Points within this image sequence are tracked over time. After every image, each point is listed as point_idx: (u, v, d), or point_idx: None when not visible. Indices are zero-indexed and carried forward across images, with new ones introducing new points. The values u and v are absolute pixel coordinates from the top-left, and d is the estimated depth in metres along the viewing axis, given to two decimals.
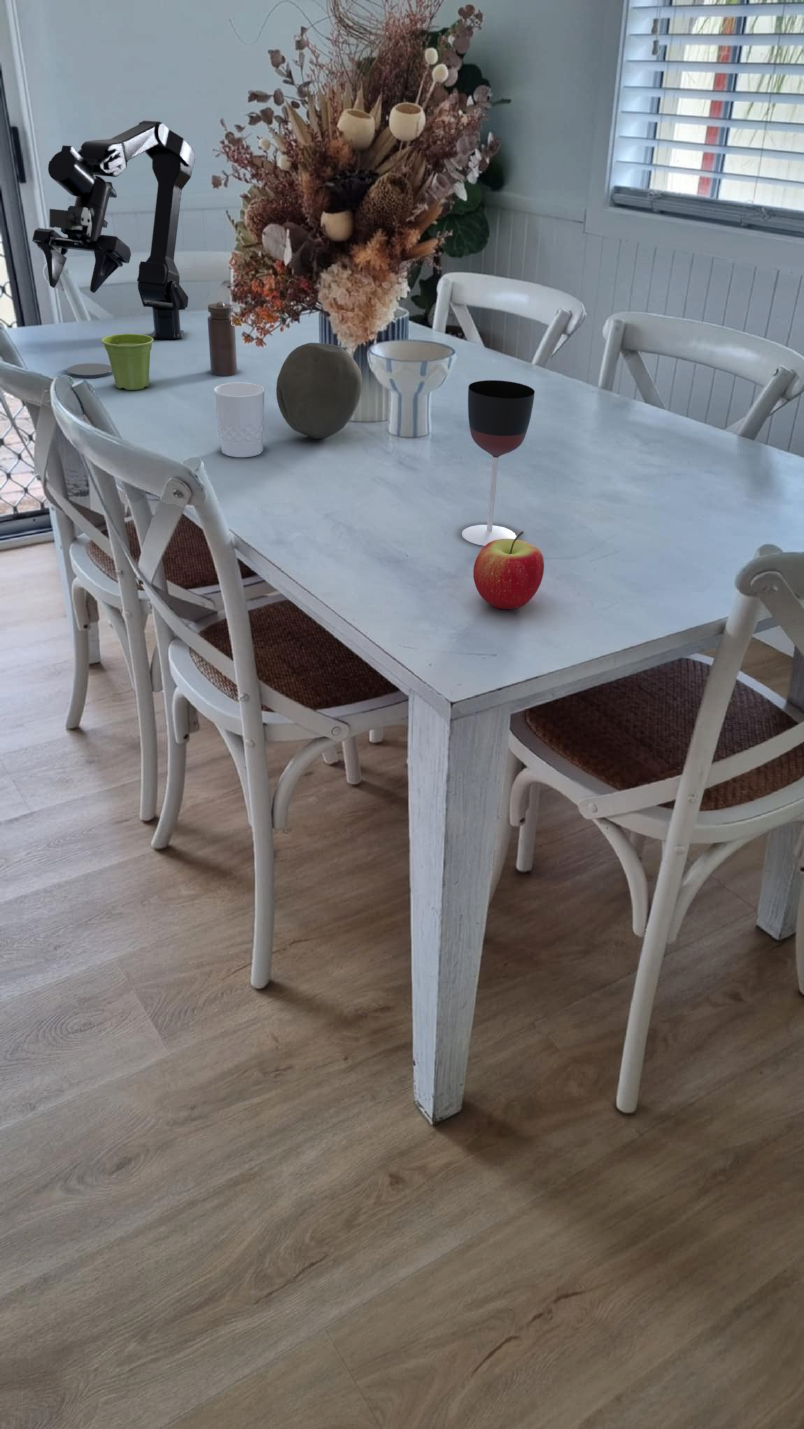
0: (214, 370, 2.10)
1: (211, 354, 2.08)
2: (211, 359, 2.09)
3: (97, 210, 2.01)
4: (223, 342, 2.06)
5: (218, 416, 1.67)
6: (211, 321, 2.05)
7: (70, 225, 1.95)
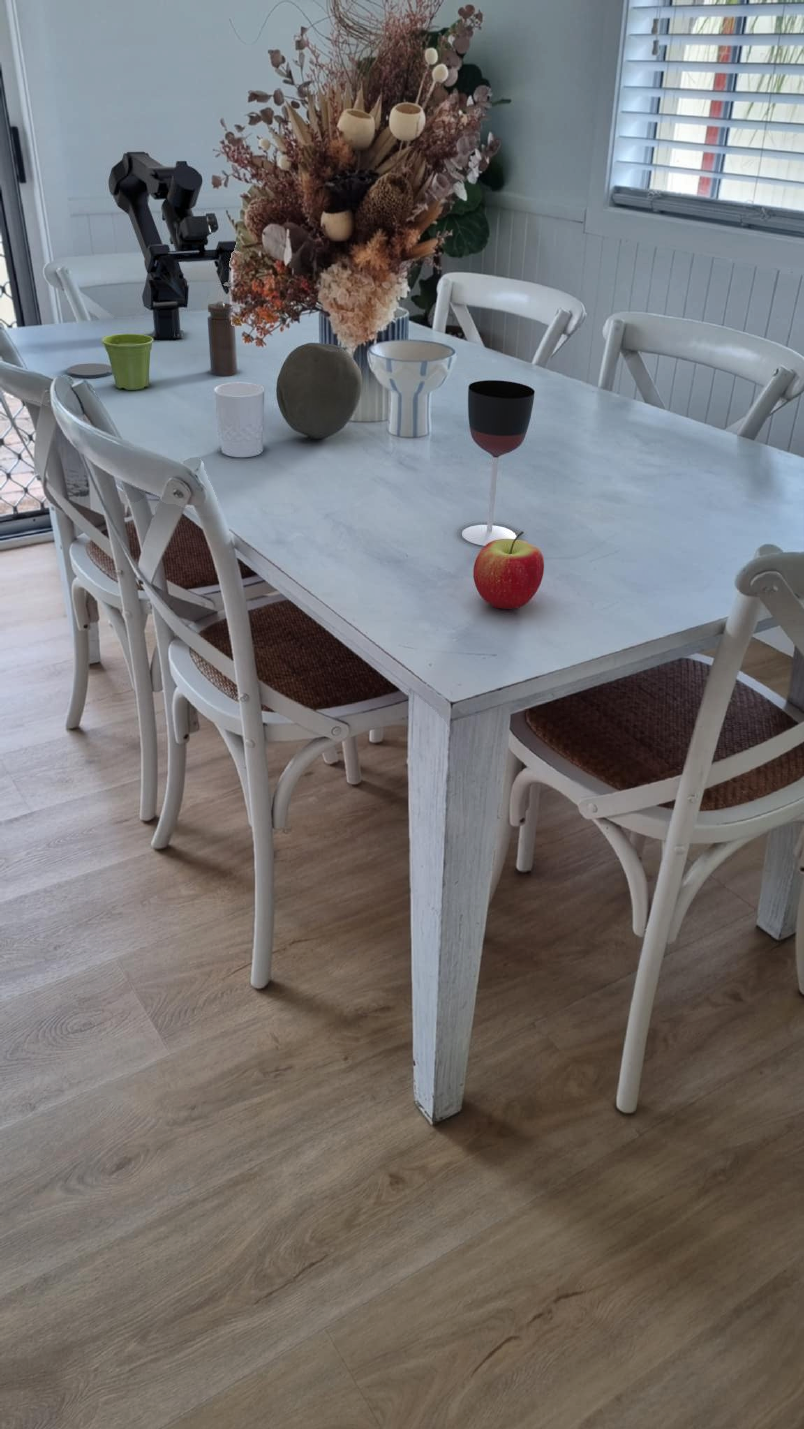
0: (214, 370, 2.10)
1: (211, 354, 2.08)
2: (211, 359, 2.09)
3: None
4: (223, 342, 2.06)
5: (218, 416, 1.67)
6: (211, 321, 2.05)
7: (210, 230, 2.06)
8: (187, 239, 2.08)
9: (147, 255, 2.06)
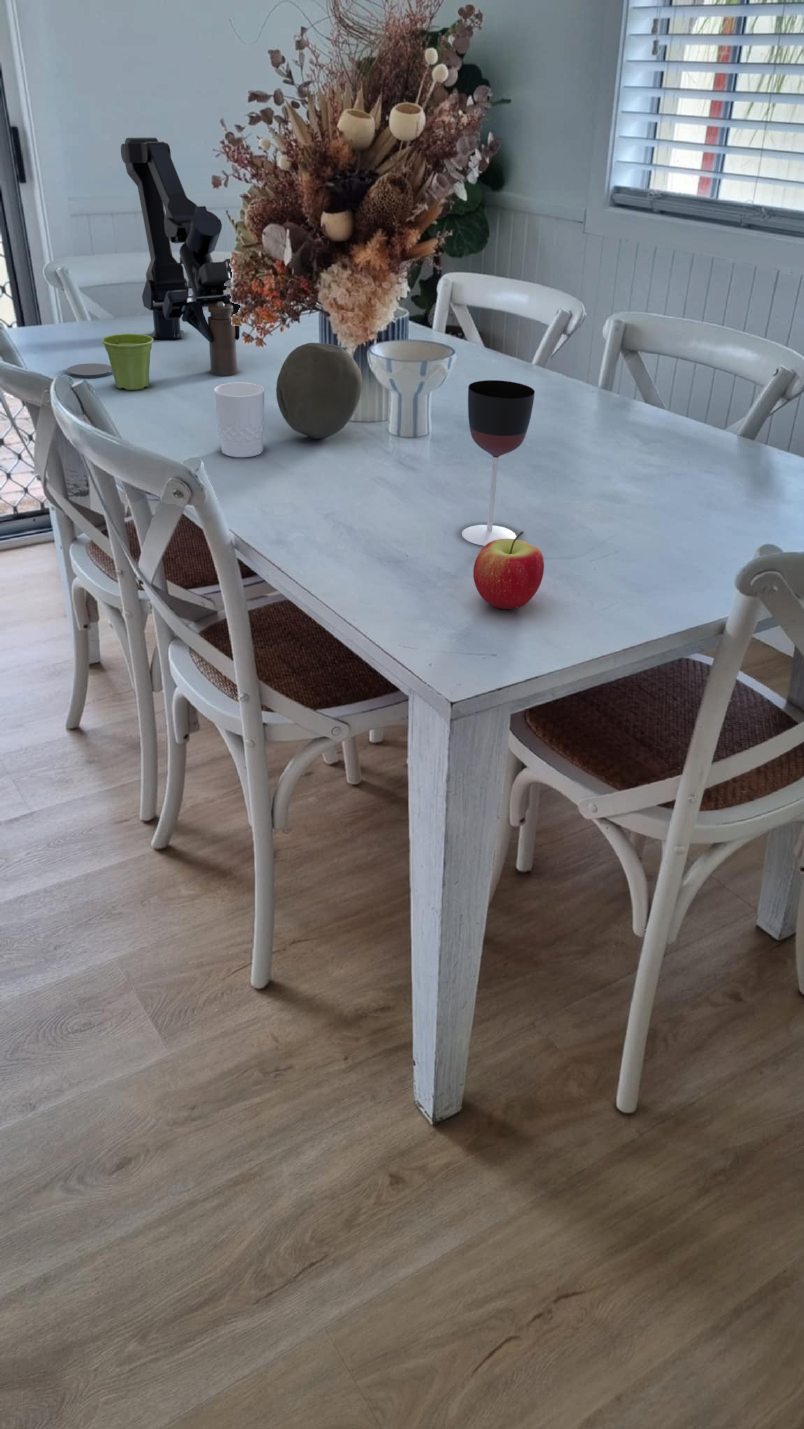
0: (214, 370, 2.10)
1: (211, 354, 2.08)
2: (211, 359, 2.09)
3: None
4: (223, 342, 2.06)
5: (218, 416, 1.67)
6: (211, 321, 2.05)
7: (230, 275, 2.03)
8: (206, 284, 2.05)
9: (166, 301, 2.04)
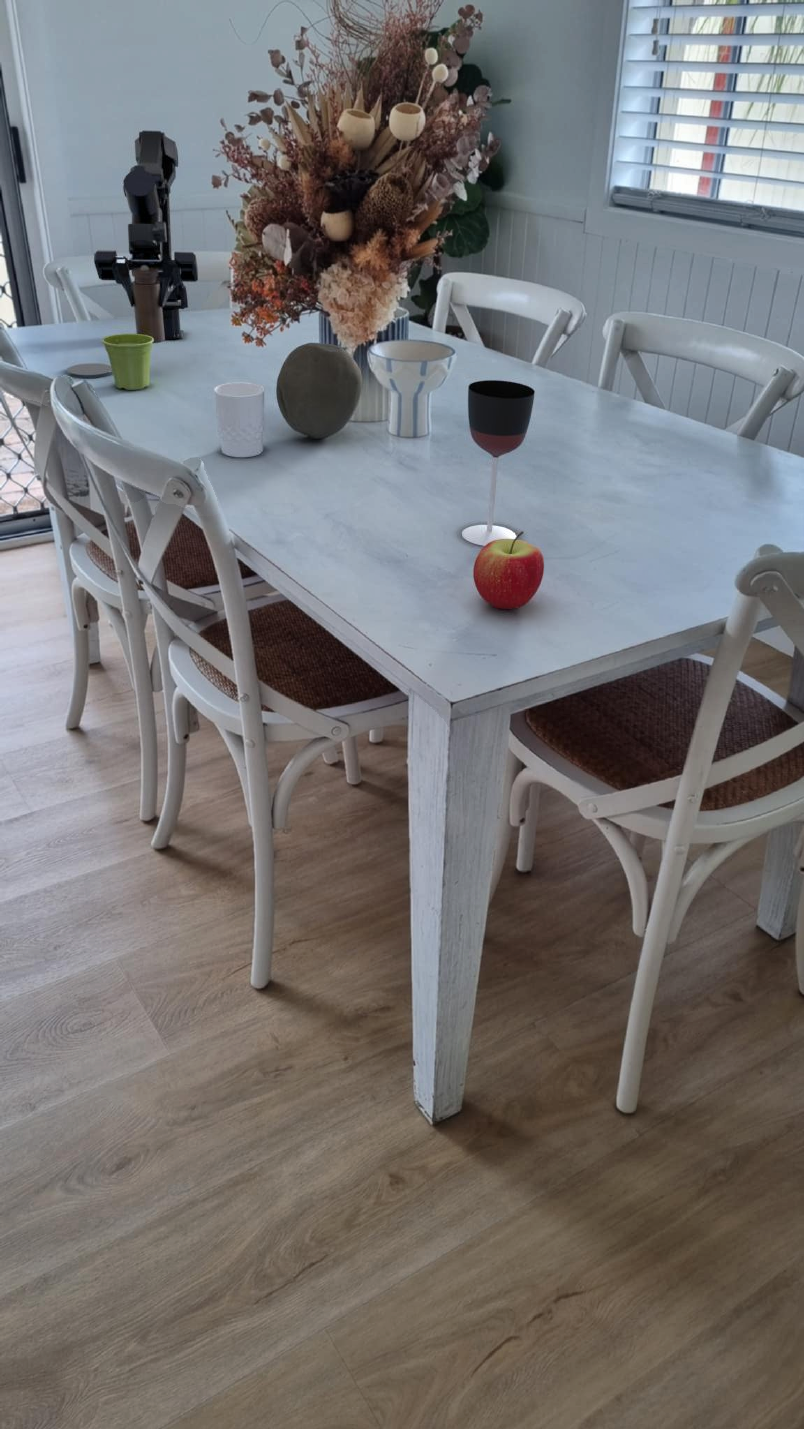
0: None
1: (135, 319, 2.02)
2: None
3: None
4: (142, 307, 1.99)
5: (218, 416, 1.67)
6: (132, 285, 1.98)
7: (154, 239, 1.95)
8: (137, 247, 1.99)
9: None
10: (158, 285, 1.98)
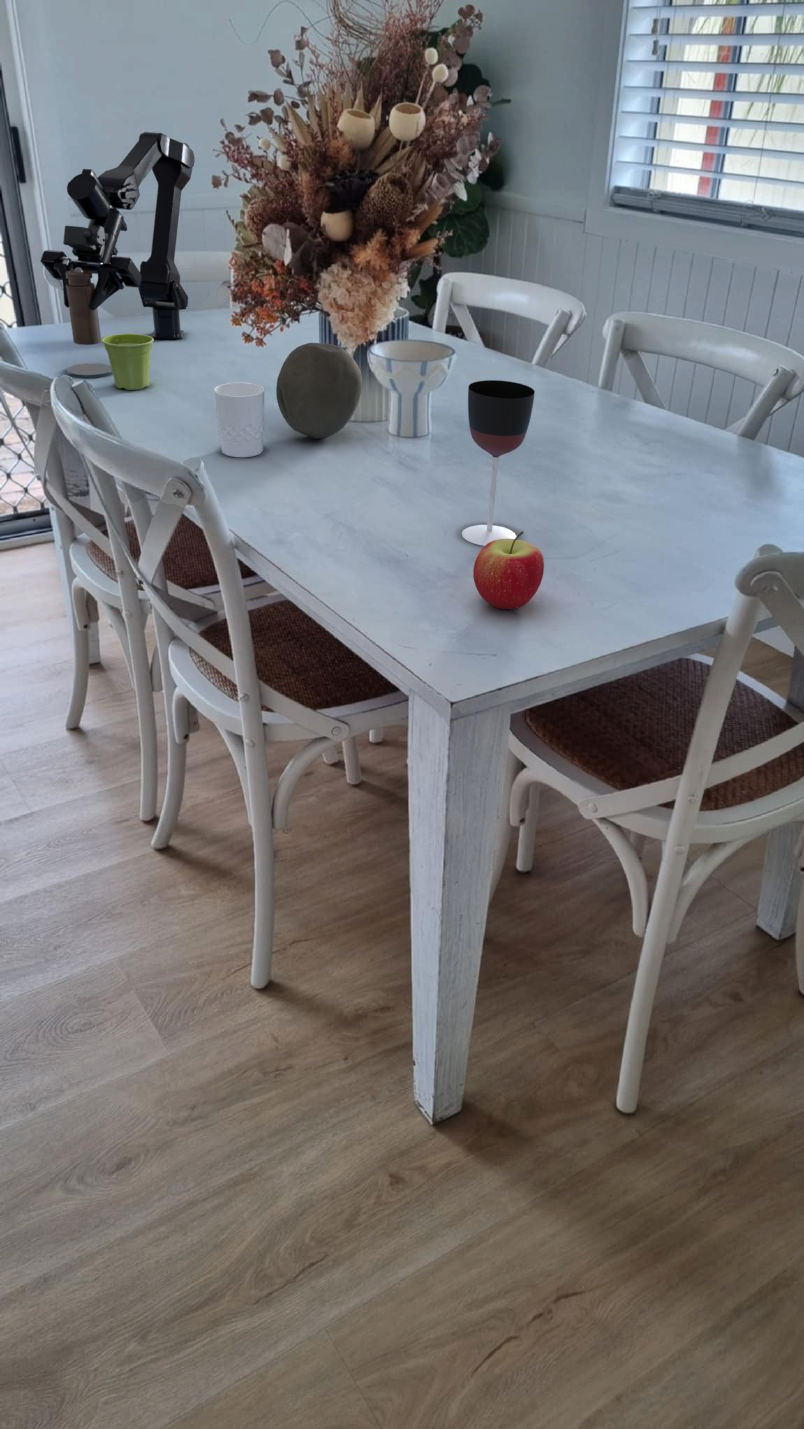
0: None
1: None
2: None
3: (110, 235, 2.02)
4: (72, 308, 2.00)
5: (218, 416, 1.67)
6: (66, 286, 2.00)
7: (85, 242, 1.96)
8: (79, 249, 2.00)
9: None
10: (89, 288, 1.99)
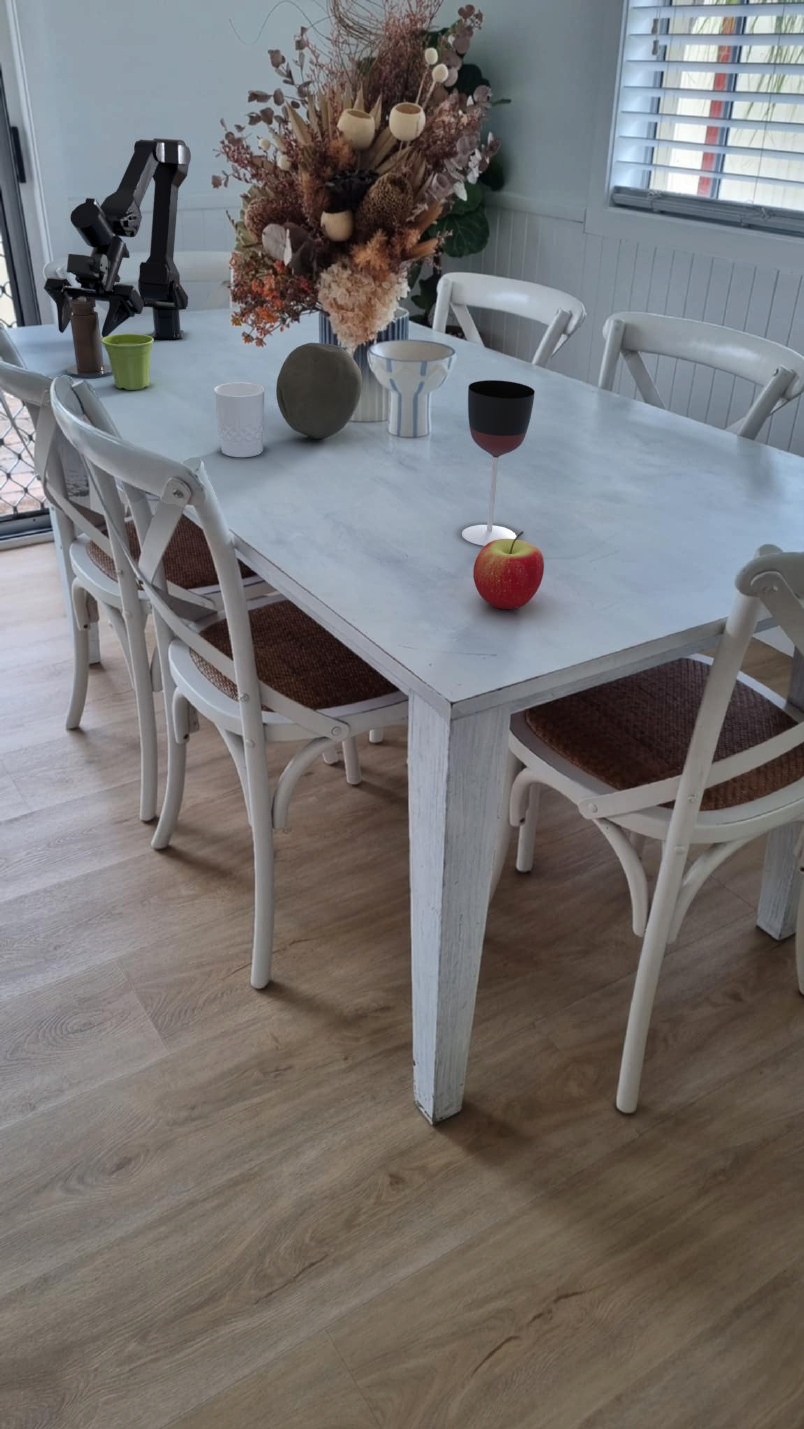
0: None
1: None
2: None
3: (113, 263, 2.05)
4: (76, 337, 2.03)
5: (218, 416, 1.67)
6: (70, 314, 2.03)
7: (88, 270, 1.98)
8: (82, 277, 2.03)
9: None
10: (92, 317, 2.02)
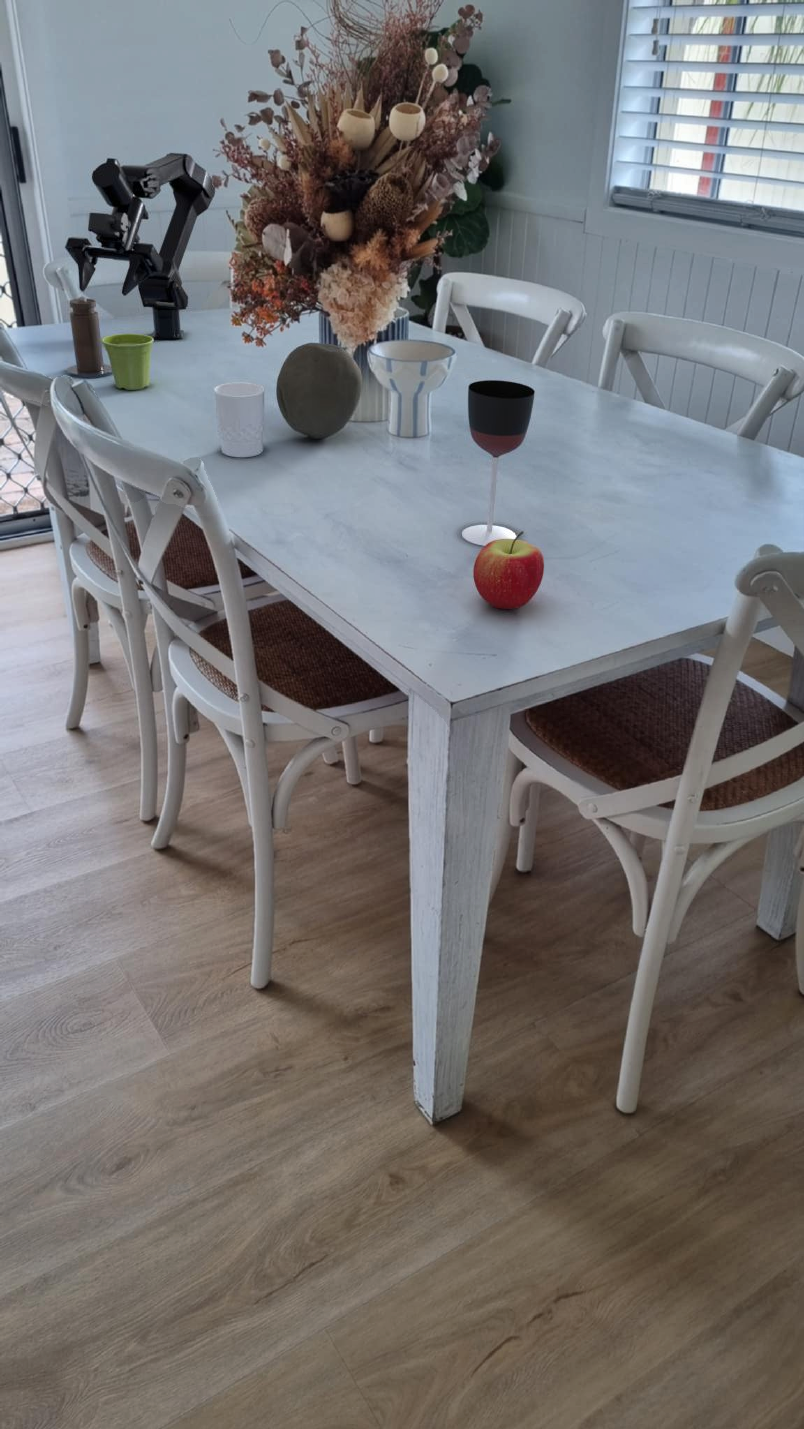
0: None
1: None
2: None
3: (132, 223, 2.09)
4: (76, 337, 2.03)
5: (218, 416, 1.67)
6: (70, 314, 2.03)
7: (109, 228, 2.02)
8: (103, 236, 2.07)
9: None
10: (92, 317, 2.02)
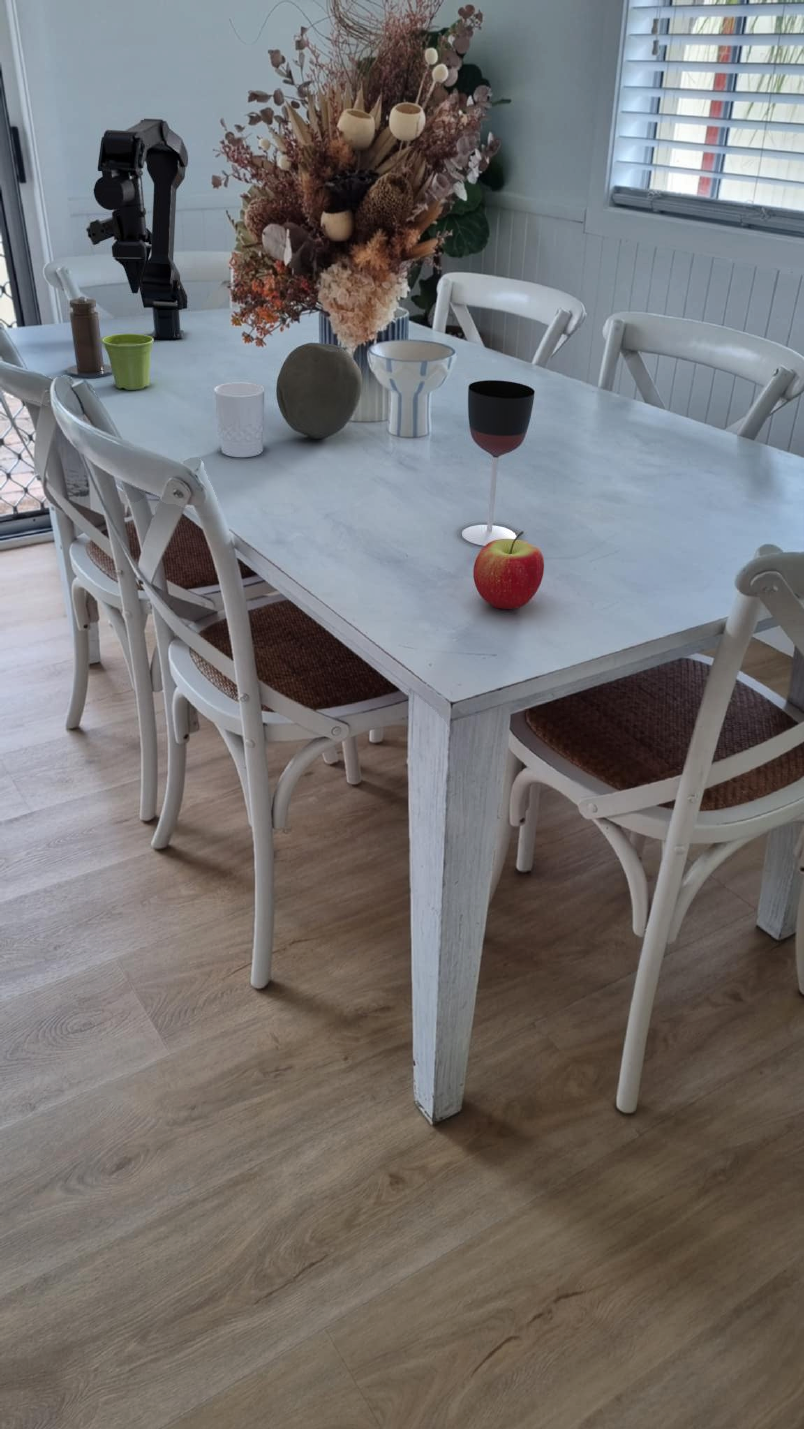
0: None
1: None
2: None
3: (122, 208, 2.04)
4: (76, 337, 2.03)
5: (218, 416, 1.67)
6: (70, 314, 2.03)
7: (93, 241, 2.07)
8: None
9: None
10: (92, 317, 2.02)
